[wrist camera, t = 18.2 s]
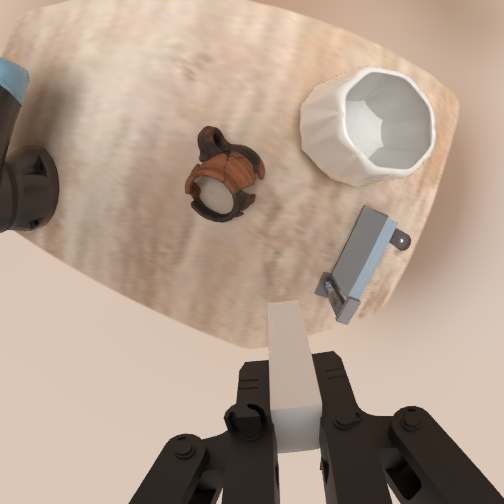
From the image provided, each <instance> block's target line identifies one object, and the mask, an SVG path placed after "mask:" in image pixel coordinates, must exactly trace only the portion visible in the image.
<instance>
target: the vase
mask: <svg viewBox="0 0 504 504" xmlns="http://www.w3.org/2000/svg"><path fill="white" fill-rule="evenodd" d="M300 113H301V116H300V126H299V131H300V136H301V143H302V144H301V149H302V151H303V152H305V153H306V154H307V155H308V156H309V157H310V158H311V159H312V161H313V162H314V163H315V164H316V165H317V167H318V168H319V169H320V170H322V171H323V172H324V173H325V174H326V175H327V176H329V177H330V178H331V179H333V180H335V181H338V182H342V183H346V184H349V185H353V186H357V187H362V186H366V185H369V184H372V183H377V182H385V181H391V180H397V179H403V178H407V177H409V176H411V175H412V174H413V173H414V172H416V171H417V170H418V169H419V168H420V167H421V165H422V164H423V163H424V161H425V160H427V159H428V157H429V156H430V155H431V154H432V152H433V150H434V146H435V140H436V131H435V116H434V112H433V108H432V106H431V104H430V102H429V100H428V99H427V97H426V96H425V95H424V93H423V92H422V91H421V90H420V89H419V87H418V86H417V84H416V83H415V82H414V81H413V80H412V79H411V78H410V77H408V76H407V75H406V74H404V73H402V72H399V71H395V70H387V69H384V68H380V67H376V66H364V67H360V68H356V69H354V70H351V71H348V72H345V73H343V74H341V75H338V76H336V77H334V78H332V79H331V80H329V81H326V82H323V83H320V84H319V85H317V86H316V87H315V88H314V89H313V90H312V92H311V93H310V95H309V96H308V97H307V99H306V100H305V101H304V103H303V104H302V106H300Z"/></svg>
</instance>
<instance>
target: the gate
mask: <svg viewBox="0 0 504 504" xmlns="http://www.w3.org/2000/svg"><path fill="white" fill-rule="evenodd" d="M397 224H398V223H397V222H395V221H393V220H391V219H390V218H388V217H386V216H384V215H382V214H380V213H378V212H376V211H374V210H372V209H370V208H368V207H366V206H364V208H363V210H362V212H361V214H360V217H359V219H358V221H357V223H356V225H355V227H354V230H353V232H352V234H351V236H350V238H349V240H348V242H347V244H346V246H345V249H344V251H343V253H342V255H341V257H340V259H339V261H338V263H337V265H336V267H335V269H334V271H333V273H332V275H333V277H334V278H335V280H336V282H337V284H338V285H339V287H340V289H341V291H342V292H343V294H344V296H345V298H346V301H345V302H344V304H343V306H342V308H341V309H340V311H339V313H338V314H337V316H336V318H335V319H336V321H337V322H340V323H343V324H346V325H348V323H349V321H350V320H351V318H352V316H353V315H354V313H355V311H356V310H357V308H358V306H359V305H360V303H361V302H360V301H359V298H360V296H361V295H362V293H363V291H364V289H365V287H366V286H367V284H368V282H369V280H370V278H371V276H372V275H373V273H374V271H375V269H376V267H377V265H378V263H379V261H380V259H381V257H382V255H383V253H384V251H385V249H386V247H387V245H388V243H389V241H390V239H391V237H392V235H393V233H394V230H395V228H396V226H397Z"/></svg>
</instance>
